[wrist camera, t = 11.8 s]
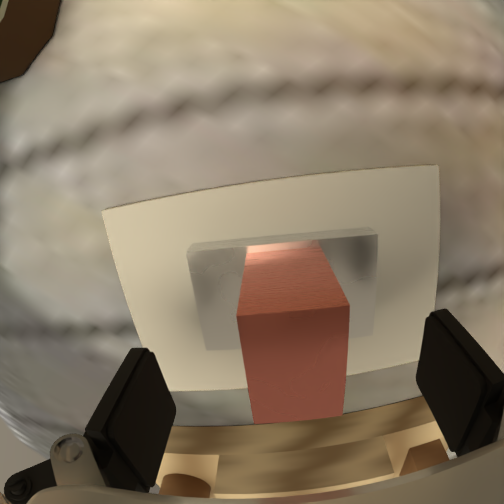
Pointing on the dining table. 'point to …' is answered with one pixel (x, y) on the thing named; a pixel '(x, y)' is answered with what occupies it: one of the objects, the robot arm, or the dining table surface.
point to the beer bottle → (24, 33)
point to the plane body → (301, 454)
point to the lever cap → (288, 313)
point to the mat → (277, 223)
